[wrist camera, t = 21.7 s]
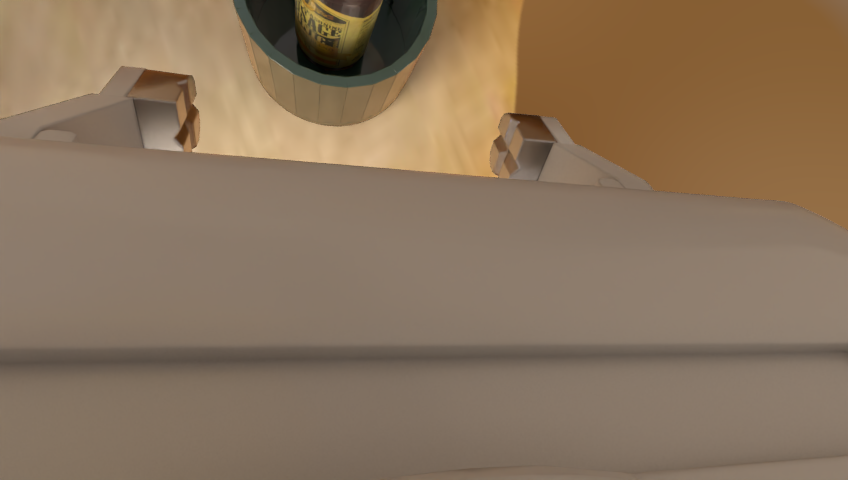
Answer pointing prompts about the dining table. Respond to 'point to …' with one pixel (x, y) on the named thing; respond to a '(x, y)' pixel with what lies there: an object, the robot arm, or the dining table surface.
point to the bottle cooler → (345, 89)
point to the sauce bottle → (335, 30)
